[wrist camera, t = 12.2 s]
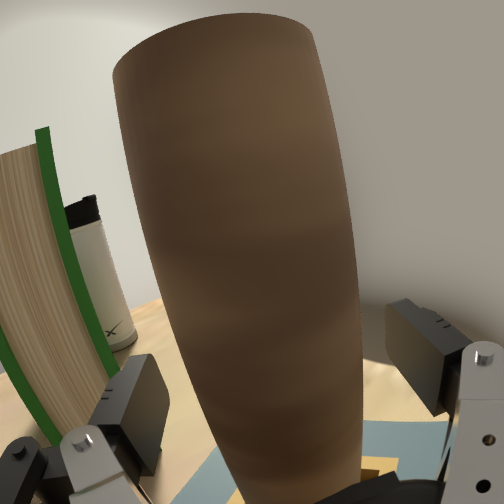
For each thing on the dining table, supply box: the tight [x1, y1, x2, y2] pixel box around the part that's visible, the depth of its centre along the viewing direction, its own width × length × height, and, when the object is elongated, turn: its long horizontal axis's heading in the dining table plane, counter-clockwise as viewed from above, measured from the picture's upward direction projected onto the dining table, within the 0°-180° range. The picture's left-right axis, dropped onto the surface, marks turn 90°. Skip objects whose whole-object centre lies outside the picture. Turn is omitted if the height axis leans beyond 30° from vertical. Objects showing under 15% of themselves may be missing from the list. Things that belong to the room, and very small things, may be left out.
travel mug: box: [64, 195, 137, 352], centre depth 38 cm, size 6×7×20 cm
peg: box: [113, 13, 363, 504], centre depth 9 cm, size 4×4×20 cm
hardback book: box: [0, 126, 162, 451], centre depth 23 cm, size 18×7×24 cm, turn 36°
